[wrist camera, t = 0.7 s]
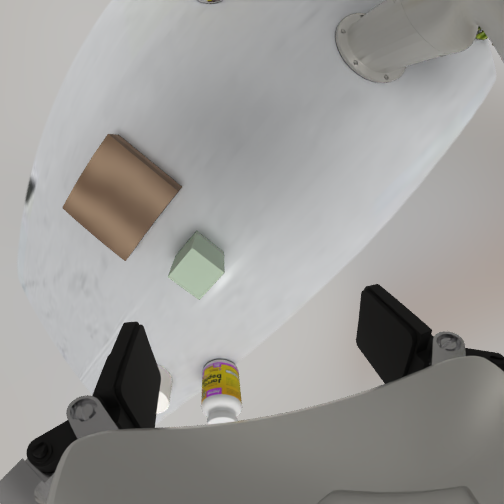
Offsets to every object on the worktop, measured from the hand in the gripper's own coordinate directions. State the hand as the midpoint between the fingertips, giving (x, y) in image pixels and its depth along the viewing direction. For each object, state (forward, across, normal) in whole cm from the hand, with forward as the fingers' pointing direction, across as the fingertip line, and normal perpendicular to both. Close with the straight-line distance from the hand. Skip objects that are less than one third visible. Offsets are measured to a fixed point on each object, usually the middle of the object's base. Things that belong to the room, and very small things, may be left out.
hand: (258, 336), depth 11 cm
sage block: (+29, +4, +6) cm, 30 cm away
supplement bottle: (+30, +5, +29) cm, 42 cm away
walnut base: (+29, +14, -4) cm, 33 cm away
